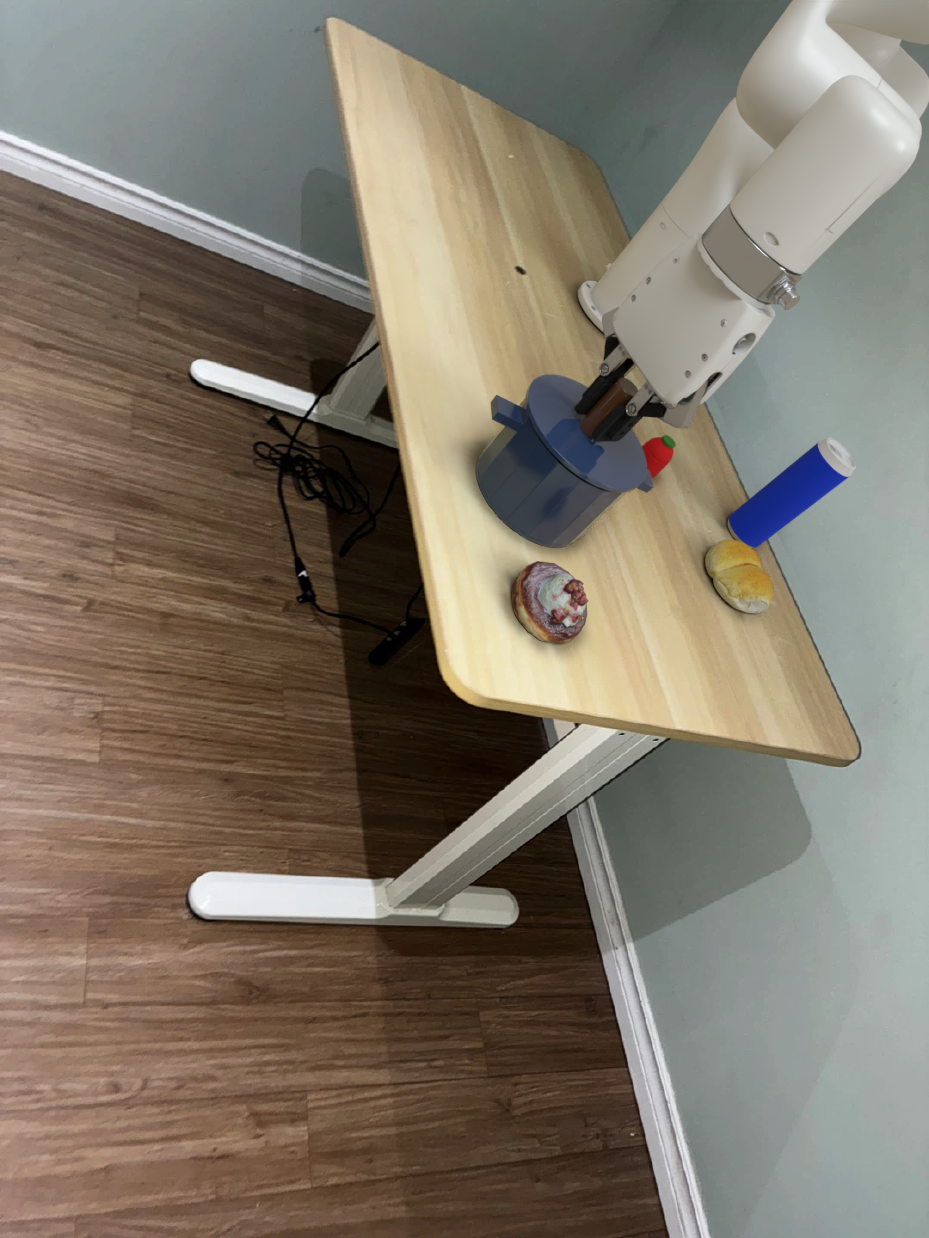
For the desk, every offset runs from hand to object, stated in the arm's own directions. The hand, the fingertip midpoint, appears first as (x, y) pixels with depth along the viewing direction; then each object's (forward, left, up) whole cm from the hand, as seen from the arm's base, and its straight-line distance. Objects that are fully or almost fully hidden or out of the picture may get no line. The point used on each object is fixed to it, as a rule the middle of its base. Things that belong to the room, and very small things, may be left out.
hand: (594, 424), depth 74 cm
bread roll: (0, +28, -10) cm, 30 cm away
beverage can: (-10, +33, -10) cm, 36 cm away
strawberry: (-14, +18, -10) cm, 25 cm away
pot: (0, 0, -10) cm, 10 cm away
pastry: (+14, 0, -10) cm, 18 cm away
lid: (0, 0, -1) cm, 1 cm away
